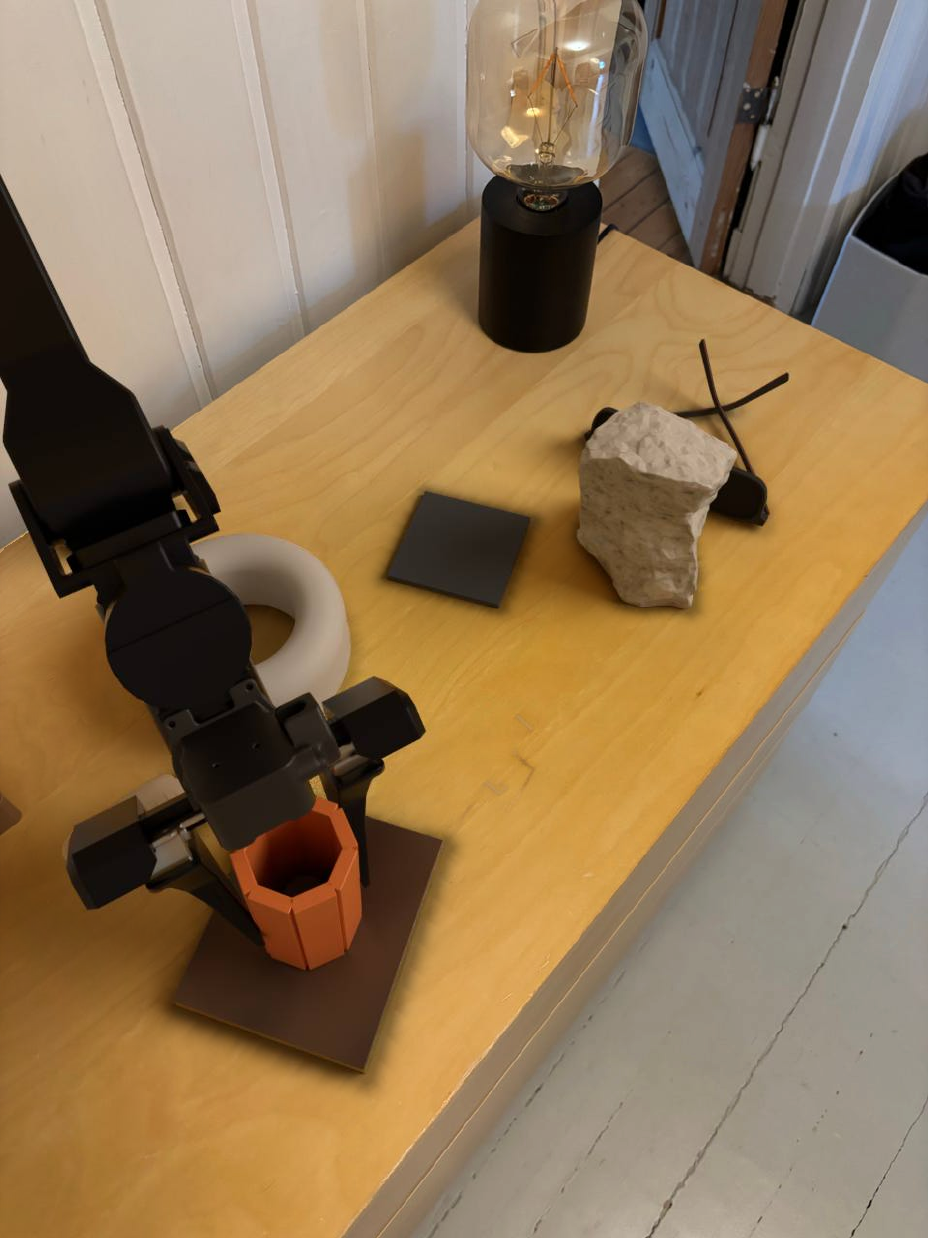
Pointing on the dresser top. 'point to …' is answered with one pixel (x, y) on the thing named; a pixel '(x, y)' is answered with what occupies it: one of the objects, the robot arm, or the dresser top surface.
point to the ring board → (335, 991)
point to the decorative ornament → (148, 796)
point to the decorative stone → (649, 501)
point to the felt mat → (460, 549)
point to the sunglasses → (742, 488)
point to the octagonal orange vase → (319, 915)
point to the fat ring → (287, 610)
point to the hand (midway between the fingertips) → (314, 914)
